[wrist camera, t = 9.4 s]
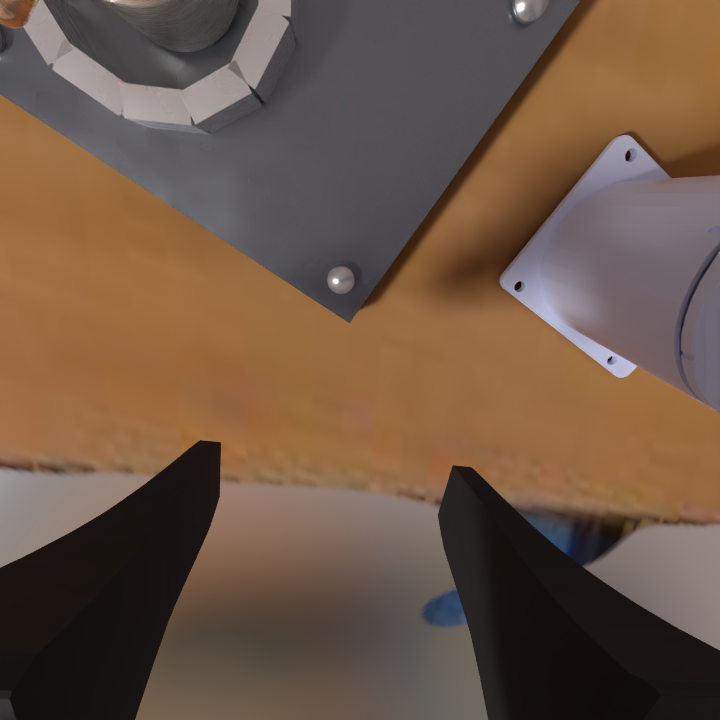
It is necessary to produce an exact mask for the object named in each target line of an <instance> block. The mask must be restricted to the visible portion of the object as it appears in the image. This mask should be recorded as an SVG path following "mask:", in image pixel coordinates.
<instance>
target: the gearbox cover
mask: <svg viewBox="0 0 720 720" xmlns="http://www.w3.org/2000/svg"><path fill="white" fill-rule="evenodd" d="M579 2H580V0H239V2H238V6H237V10H236V13H235V15H234V18H233V20H232V22H231V24H230V26H229V28H228V29H227V30H226V32H225V33H224V34H223V36H222V37H221V38H220V39H219V40H218V41H216V42H215V43H213V44H212V45H211V46H209V47H207V48H204V49H202V50H198V51H194V52H178V51H173V50H170V49H167V48H164V47H162V46H160V45H158V44H156V43H154V42H153V41H152V40H150V39H149V38H147V37H146V36H145V35H143V34H142V33H141V32H140V31H139V30H137V29H136V28H135V27H134V26H132V25H131V24H130V23H129V22H127V21H126V20H125V19H124V18H122V17H121V16H120V15H119V14H118V13H116V12H115V11H114V10H113V9H111V8H110V7H109V6H108V5H106V4H105V3H104V2H103V1H101V0H39V1H38V4H37V6H36V8H35V10H34V12H33V14H32V16H31V18H30V20H29V22H28V23H27V25H25V26H24V27H22V28H16V29H15V28H10V27H7V26H4V25H3V24H1V23H0V94H1V95H3V96H4V97H6V98H7V99H9V100H10V101H12V102H13V103H15V104H16V105H18V106H19V107H21V108H22V109H24V110H25V111H27V112H28V113H30V114H32V115H33V116H35V117H36V118H38V119H39V120H41V121H42V122H44V123H45V124H47V125H48V126H50V127H51V128H53V129H54V130H56V131H57V132H59V133H60V134H62V135H64V136H65V137H67V138H68V139H70V140H71V141H73V142H74V143H76V144H77V145H79V146H80V147H82V148H83V149H85V150H86V151H88V152H89V153H91V154H92V155H94V156H96V157H97V158H99V159H100V160H102V161H103V162H105V163H106V164H108V165H109V166H111V167H112V168H114V169H115V170H117V171H118V172H120V173H121V174H123V175H125V176H126V177H128V178H129V179H131V180H132V181H134V182H135V183H137V184H138V185H140V186H141V187H143V188H144V189H146V190H147V191H149V192H150V193H152V194H153V195H155V196H157V197H158V198H160V199H161V200H163V201H164V202H166V203H167V204H169V205H170V206H172V207H173V208H175V209H176V210H178V211H179V212H181V213H182V214H184V215H185V216H187V217H189V218H190V219H192V220H193V221H195V222H196V223H198V224H199V225H201V226H202V227H204V228H205V229H207V230H208V231H210V232H211V233H213V234H214V235H216V236H217V237H219V238H221V239H222V240H224V241H225V242H227V243H228V244H230V245H231V246H233V247H234V248H236V249H237V250H239V251H240V252H242V253H243V254H245V255H246V256H248V257H249V258H251V259H253V260H254V261H256V262H257V263H259V264H260V265H262V266H263V267H265V268H266V269H268V270H269V271H271V272H272V273H274V274H275V275H277V276H278V277H280V278H282V279H283V280H285V281H286V282H288V283H289V284H291V285H292V286H294V287H295V288H297V289H298V290H300V291H301V292H303V293H304V294H306V295H307V296H309V297H310V298H312V299H314V300H315V301H317V302H318V303H320V304H321V305H323V306H324V307H326V308H327V309H329V310H330V311H332V312H333V313H335V314H336V315H338V316H339V317H341V318H342V319H344V320H346V321H347V322H349V323H350V322H351V320H352V319H353V317H354V316H355V315H356V313H357V312H358V310H359V309H360V308H361V306H362V305H363V304H364V302H365V301H366V299H367V298H368V297H369V295H370V294H371V292H372V291H373V290H374V288H375V287H376V285H377V284H378V283H379V281H380V280H381V278H382V277H383V276H384V274H385V273H386V271H387V270H388V269H389V267H390V266H391V264H392V263H393V262H394V260H395V259H396V257H397V256H398V255H399V253H400V252H401V250H402V249H403V248H404V246H405V245H406V243H407V242H408V241H409V239H410V238H411V236H412V235H413V234H414V232H415V231H416V229H417V228H418V227H419V225H420V224H421V222H422V221H423V220H424V218H425V217H426V215H427V214H428V213H429V211H430V210H431V209H432V207H433V206H434V204H435V203H436V202H437V200H438V199H439V197H440V196H441V195H442V193H443V192H444V190H445V189H446V188H447V186H448V185H449V183H450V182H451V181H452V179H453V178H454V176H455V175H456V174H457V172H458V171H459V169H460V168H461V167H462V165H463V164H464V162H465V161H466V160H467V158H468V157H469V155H470V154H471V153H472V151H473V150H474V148H475V147H476V146H477V144H478V143H479V141H480V140H481V139H482V137H483V136H484V134H485V133H486V132H487V130H488V129H489V127H490V126H491V125H492V123H493V122H494V120H495V119H496V118H497V116H498V115H499V113H500V112H501V111H502V109H503V108H504V107H505V105H506V104H507V102H508V101H509V100H510V98H511V97H512V95H513V94H514V93H515V91H516V90H517V88H518V87H519V86H520V84H521V83H522V81H523V80H524V79H525V77H526V76H527V74H528V73H529V72H530V70H531V69H532V67H533V66H534V65H535V63H536V62H537V60H538V59H539V58H540V56H541V55H542V53H543V52H544V51H545V49H546V48H547V46H548V45H549V44H550V42H551V41H552V39H553V38H554V37H555V35H556V34H557V32H558V31H559V30H560V28H561V27H562V25H563V24H564V23H565V21H566V20H567V18H568V17H569V16H570V14H571V13H572V12H573V10H574V9H575V7H576V6H577V5H578V3H579Z"/></svg>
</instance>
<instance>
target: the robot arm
mask: <svg viewBox="0 0 720 720" xmlns="http://www.w3.org/2000/svg"><path fill="white" fill-rule="evenodd" d="M628 150H629V151H630V153H631V157H630V159H629V160H628V161H626V159H625V154H626V152H627V151H628ZM519 281H521V287H520V288H519V289H518V290H515V289H514V286H515V284H516V283H517V282H519ZM499 282H500V285H501V287H502V288H503V289H505V290H506V291H507V292H509V293H510V294H511V295H512V296H514V297H515V298H516V299H517V300H519V301H520V302H521V303H523V304H524V305H525V306H526V307H528V308H529V309H530V310H532V311H533V312H534V313H535V314H537V315H538V316H539V317H540V318H542V319H543V320H544V321H546V322H547V323H548V324H549V325H551V326H552V327H553V328H555V329H556V330H557V331H558V332H560V333H561V334H562V335H564V336H565V337H566V338H567V339H569V340H570V341H571V342H572V343H574V344H575V345H576V346H578V347H579V348H580V349H581V350H583V351H584V352H585V353H587V354H588V355H589V356H590V357H592V358H593V359H594V360H595V361H597V362H598V363H599V364H601V365H602V366H603V367H604V368H606V369H607V370H608V371H610V372H611V373H612V374H613V375H615V376H617V377H619V378H623V377H626V376H628V375H629V374H630V373H631V372H632V371H633V370H634V369H635V368H636V367H637V366H638V367H640V368H641V369H643V370H645V371H647V372H649V373H650V374H652V375H654V376H656V377H657V378H659V379H661V380H663V381H664V382H666V383H668V384H670V385H671V386H673V387H675V388H677V389H678V390H680V391H682V392H684V393H686V394H687V395H689V396H691V397H693V398H694V399H696V400H698V401H700V402H701V403H703V404H705V405H707V406H708V407H710V408H712V409H714V410H715V411H717V412H719V413H720V175H715V176H698V177H681V178H670V176H669V175H668V174H667V173H666V172H665V171H664V170H663V169H662V168H661V167H660V166H659V165H658V164H657V163H656V162H655V161H654V160H653V159H652V158H651V157H650V156H649V154H648V153H647V152H646V151H645V150H644V149H643V148H642V147H641V146H640V145H639V144H638V143H637V142H636V141H635V140H634V139H633V138H632V137H631V136H629V135H621V136H618V137H615V138H614V139H613V140H612V141H611V142H610V143H609V144H608V146H607V147H606V148H605V149H604V150H603V152H602V153H601V154H600V155H599V156H598V158H597V159H596V160H595V161H594V163H593V164H592V165H591V166H590V167H589V169H588V170H587V171H586V172H585V173H584V175H583V176H582V177H581V178H580V180H579V181H578V182H577V183H576V184H575V186H574V187H573V188H572V189H571V191H570V192H569V193H568V194H567V195H566V197H565V198H564V199H563V200H562V201H561V203H560V204H559V205H558V206H557V208H556V209H555V210H554V211H553V212H552V214H551V215H550V216H549V217H548V218H547V220H546V221H545V222H544V223H543V225H542V226H541V227H540V228H539V229H538V231H537V232H536V233H535V234H534V236H533V237H532V238H531V239H530V240H529V242H528V243H527V244H526V245H525V246H524V248H523V249H522V250H521V251H520V253H519V254H518V255H517V256H516V257H515V259H514V260H513V261H512V262H511V263H510V265H509V266H508V267H507V268H506V270H505V271H504V272H503V273H502V275H501V277H500V281H499ZM611 356H612V359H611V360H610V361H609V362H607V360H608V359H609V357H611ZM220 458H221V442H212V441H202V440H200V441H198V442H197V443H196V444H194V445H193V446H192V447H191V448H189V449H188V450H187V451H186V452H185V453H183V454H182V455H181V456H180V457H179V458H177V459H176V460H175V461H174V462H172V463H171V464H170V465H169V466H168V467H166V468H165V469H164V470H162V471H161V472H160V473H159V474H157V475H156V476H155V477H153V478H152V479H151V480H150V481H148V482H147V483H146V484H144V485H143V486H142V487H140V488H139V489H137V490H136V491H135V492H133V493H132V494H130V495H129V496H128V497H126V498H125V499H123V500H122V501H121V502H119V503H118V504H116V505H115V506H113V507H112V508H110V509H109V510H107V511H106V512H104V513H102V514H101V515H100V516H98V517H96V518H94V519H93V520H91V521H89V522H88V523H86V524H84V525H83V526H81V527H79V528H78V529H76V530H74V531H72V532H70V533H69V534H67V535H65V536H63V537H61V538H59V539H57V540H55V541H53V542H51V543H49V544H47V545H46V546H44V547H42V548H40V549H38V550H36V551H34V552H32V553H31V554H28V555H26V556H25V557H22V558H20V559H18V560H16V561H14V562H12V563H9V564H7V565H5V566H3V567H1V568H0V720H135V718H136V715H137V712H138V709H139V706H140V703H141V700H142V697H143V694H144V691H145V688H146V684H147V682H148V679H149V676H150V673H151V670H152V667H153V664H154V661H155V658H156V655H157V652H158V650H159V647H160V644H161V641H162V638H163V635H164V632H165V630H166V627H167V624H168V621H169V618H170V616H171V614H172V611H173V609H174V606H175V604H176V602H177V599H178V597H179V595H180V593H181V591H182V588H183V586H184V584H185V582H186V580H187V577H188V575H189V573H190V571H191V569H192V566H193V564H194V562H195V560H196V558H197V555H198V553H199V551H200V549H201V546H202V544H203V542H204V539H205V537H206V535H207V533H208V530H209V528H210V525H211V522H212V519H213V516H214V513H215V510H216V506H217V503H218V500H219V497H220ZM438 518H439V524H440V530H441V536H442V540H443V546H444V550H445V553H446V556H447V559H448V562H449V565H450V569H451V572H452V575H453V579H454V582H455V585H456V588H457V591H458V594H459V598H460V601H461V604H462V607H463V610H464V613H465V617H466V620H467V623H468V627H469V630H470V634H471V638H472V643H473V647H474V652H475V656H476V661H477V666H478V670H479V675H480V680H481V684H482V690H483V695H484V700H485V705H486V710H487V715H488V720H720V650H718V649H716V648H714V647H712V646H710V645H708V644H706V643H705V642H702V641H701V640H699V639H697V638H695V637H693V636H691V635H689V634H688V633H686V632H684V631H682V630H680V629H678V628H677V627H674V626H673V625H671V624H670V623H668V622H666V621H664V620H663V619H661V618H659V617H658V616H656V615H654V614H653V613H651V612H649V611H648V610H646V609H644V608H643V607H641V606H640V605H638V604H636V603H635V602H633V601H631V600H630V599H628V598H627V597H625V596H624V595H622V594H620V593H619V592H618V591H616V590H615V589H613V588H612V587H610V586H609V585H607V584H606V583H604V582H603V581H601V580H600V579H599V578H597V577H595V576H594V575H593V574H592V573H590V572H589V571H587V570H586V569H585V568H583V567H582V566H581V565H579V564H578V563H577V562H575V561H574V560H573V559H572V558H570V557H569V556H568V555H566V554H565V553H564V552H563V551H561V550H560V549H559V548H558V547H556V546H555V545H554V544H553V543H552V542H550V541H549V540H548V539H547V538H546V537H545V536H543V535H542V534H541V533H540V532H539V531H538V530H537V529H535V528H534V527H533V526H532V525H531V524H530V523H529V522H528V521H527V520H525V519H524V518H523V517H522V516H521V515H520V514H519V513H518V512H517V511H516V510H515V509H514V508H513V507H512V506H511V505H510V504H509V503H508V502H507V501H506V500H505V499H504V498H502V497H501V496H500V495H499V494H498V493H497V492H496V491H495V490H494V489H493V488H492V487H491V486H490V485H489V484H488V483H487V482H486V481H485V480H484V479H483V478H482V477H481V476H480V475H479V474H478V473H477V472H476V471H475V470H474V469H473V468H471V467H464V466H454V465H453V466H452V470H451V473H450V476H449V480H448V483H447V486H446V490H445V493H444V496H443V500H442V503H441V506H440V510H439V514H438Z"/></svg>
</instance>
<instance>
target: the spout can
mask: <svg viewBox="0 0 720 720" xmlns="http://www.w3.org/2000/svg"><path fill="white" fill-rule="evenodd" d="M38 1H39V0H0V23H1V24H3V25H4V26H7V27H10V28H15V29H16V28H22V27H24V26H25V25H27V23H28V22H29V20H30V18H31V16H32V14H33V12H34V10H35V8H36V6H37V4H38ZM101 1H103V2H104V3H105V4H106V5H108V6H109V7H110V8H111V9H113V10H114V11H115V12H116V13H118V14H119V15H120V16H121V17H122V18H124V19H125V20H126V21H127V22H129V23H130V24H131V25H132V26H134V27H135V28H136V29H137V30H139V31H140V32H141V33H142V34H143V35H145V36H146V37H147V38H149V39H150V40H152V41H153V42H154V43H156V44H158V45H160V46H162V47H164V48H167V49H170V50H173V51H178V52H194V51H198V50H202V49H204V48H207V47H209V46H211V45H212V44H213V43H215V42H216V41H218V40H219V39H220V38H221V37H222V36H223V34H224V33H225V32H226V30H227V29H228V28H229V26H230V24H231V22H232V20H233V18H234V15H235V13H236V10H237V6H238V2H239V0H101Z"/></svg>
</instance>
